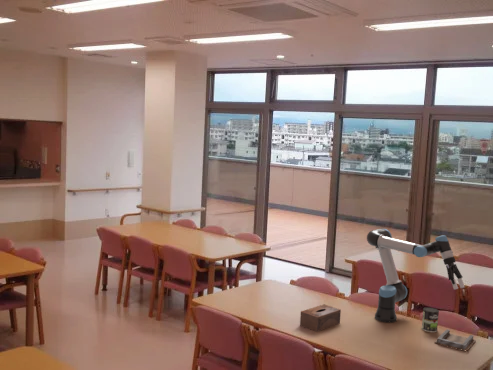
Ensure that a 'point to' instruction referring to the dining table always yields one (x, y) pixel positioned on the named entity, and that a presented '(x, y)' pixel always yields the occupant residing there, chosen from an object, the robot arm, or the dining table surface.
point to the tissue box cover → (320, 317)
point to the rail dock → (455, 340)
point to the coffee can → (430, 319)
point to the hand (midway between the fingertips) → (459, 288)
